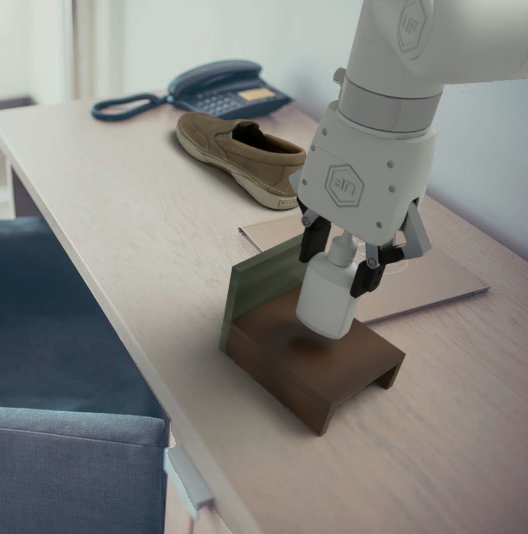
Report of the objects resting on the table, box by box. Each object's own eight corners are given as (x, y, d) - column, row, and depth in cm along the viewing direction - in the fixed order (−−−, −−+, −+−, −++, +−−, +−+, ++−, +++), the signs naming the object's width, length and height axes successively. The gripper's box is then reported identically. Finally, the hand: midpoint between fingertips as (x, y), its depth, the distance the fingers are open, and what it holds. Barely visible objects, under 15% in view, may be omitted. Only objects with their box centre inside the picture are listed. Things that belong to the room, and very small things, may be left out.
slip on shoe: (164, 135, 116) (167, 87, 110) (217, 124, 120) (223, 78, 114) (257, 220, 95) (267, 166, 90) (318, 204, 99) (331, 152, 94)
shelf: (392, 385, 70) (427, 303, 63) (319, 437, 65) (348, 353, 57) (289, 308, 80) (309, 229, 72) (218, 347, 74) (231, 266, 67)
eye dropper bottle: (314, 345, 65) (342, 251, 58) (290, 309, 69) (313, 216, 62) (353, 338, 66) (385, 245, 58) (326, 303, 70) (354, 211, 63)
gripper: (277, 76, 56) (247, 243, 67) (456, 157, 45) (384, 340, 56) (334, 59, 59) (296, 221, 71) (512, 131, 49) (434, 308, 60)
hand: (336, 272), depth 63 cm, fingers closed on eye dropper bottle, 5 cm apart
